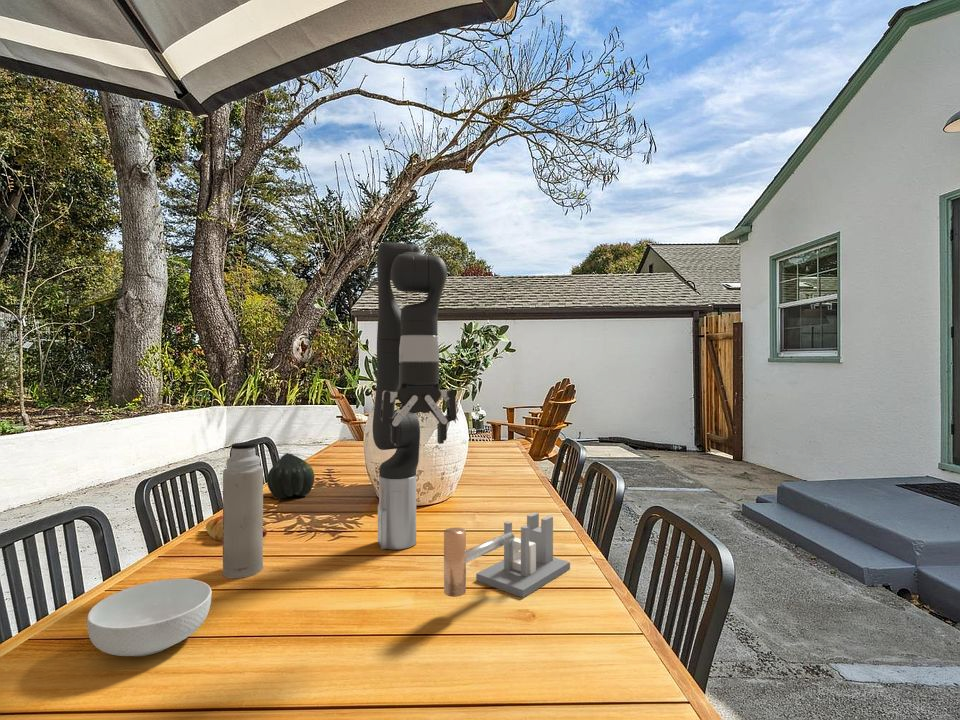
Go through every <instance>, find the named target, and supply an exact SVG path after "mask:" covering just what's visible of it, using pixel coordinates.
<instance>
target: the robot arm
mask: <svg viewBox="0 0 960 720" xmlns="http://www.w3.org/2000/svg"><path fill="white" fill-rule="evenodd" d="M376 271H377V276H376V277H377V292H378V293H377V297H378V298H377V300H378V301H377V303H378V311H377V312H378V313H377V317H378V318H377V330H376V332H377V333H376V335H377V336H376V386H375V398H374V407H373V416H372V417H373V418H372V438H373V442H374V445H375V446H376V448H377V449H379V450H381V451H387V450H395V452H394V453H393V454H392V456H391V457H390V458H388V459H386V460H385V461H383V462H381V464H380V466H379V468H378V470H379V475H378V477H379V482H378V483H379V490H378V492H379V493H378V494H379V495H378V496H379V497H378V498H379V499H378V501H379V502H378V504H377V542H378V545H379V547H380V550H405V549H408V548H409V549H410V548H412V547H413V546H415V545H416V544H417V470H418V466H419V462H420V445H421V444H420V442H421V425H420V421H419V418H418V416H417V415H416V414H419V413H423V414H428V413H429V412H430V413H431V414H432V415H433V416H434V418H435V419H436V420H437V422H438V423H437V433H436V434H437V443H438V444H439V445H443V444H444V442H445V441H447V437H448V435H447V434H448V426H447V425H448V423H450V422H453V421H456V419H457V406H456V405H457V402H456V391H455V390H454V389H448V388H447V389H446V390H440V387H439V384H440V383H439V376H440V375H439V372H440V371H439V370H440V350H439V349H440V347H439V341H438V339H439V338H438V323H439V322H438V317H439V307H440V303H441V298H442V296H443V295H442V293H443V291H444V287H445V284H446V280H447V277H448V268H447V265H446V263H445V261H444V260H443V259H442V258H441V257H440V256H437V255H424V254H423V251H422V249H421V248H420V247H419V246H418V245H415V244H412V243H404V242H402V243H400V242H388V241H386V242H385V241H384V242H381V243H380V244H379V246H378V249H377V256H376ZM391 282H392V284H393V286H394V288H395V289H396V290H397V291H399V292H404V293H424V294H425V293H426V294H427V295H426V298H425V300H424V301H421V302H417V303H411V304H407V305H404V306H403V307H402V308H400V306H399V303H398V302H397V300H396V297H395V295H394V292H393V289H392V285H391ZM441 397H442V399H443V401H445V403H446V407H445V408H446V415H445V414H443V412H442V410H441V409H440V408H439V406H438V405H437V403H438V401H439V400H440V398H441ZM396 398H397V399H398V401H399V402H400V406H399V407H398V408H397V409H396V411H395V405H396Z"/></svg>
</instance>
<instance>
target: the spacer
mask: <svg viewBox="0 0 960 720" xmlns="http://www.w3.org/2000/svg"><path fill="white" fill-rule="evenodd" d="M514 537H515V536H514ZM519 550H520V551H521V538H519V537H515V538H514V541H512V569H515V570H518V571H521V560H520V559H519V552H520V551H519ZM534 572H536V543H534V542H530V541H529V574H530V575H531V574H532V573H534Z"/></svg>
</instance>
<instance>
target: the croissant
mask: <svg viewBox="0 0 960 720" xmlns="http://www.w3.org/2000/svg"><path fill="white" fill-rule="evenodd" d="M205 529H206V532H207V534H208V535H209V536H210V538H213V540H215V541H220V542H223V515H220V516H217V517H216V518H215V517H214V518H213V519H210V520H209V521H208V522H207V523H206V525H205ZM267 532H268V530H267V529H266V528H264V527H263V538H265V537H266V536H267Z"/></svg>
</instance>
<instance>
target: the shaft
mask: <svg viewBox="0 0 960 720" xmlns="http://www.w3.org/2000/svg"><path fill="white" fill-rule="evenodd" d="M514 538H515V534H514V533H513V531H512V532H508V533H505V534H504V533H503V534H501V535H499V536H497V537H493V538H492V539H489V540H486V541H485V542H483V543H480V544H478V545H474V546H473V547H470V548H468V549H467V530H466V529H464V528H462V527H449V528H446V529H444V530H443V593H444V595H445V596H448V597H456V598H457V597H461V596H463V595H465V594H466V591H467V585H466V584H467V580H466V579H467V563H469V562H471V561H472V560H475V559H477V558H479V557H481V556H484V555H486V554H488V553H490V552H492V551H495V550H497V549H499V548H502V547H504V545H506V544H508V543H510V542H512V541H514Z"/></svg>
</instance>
